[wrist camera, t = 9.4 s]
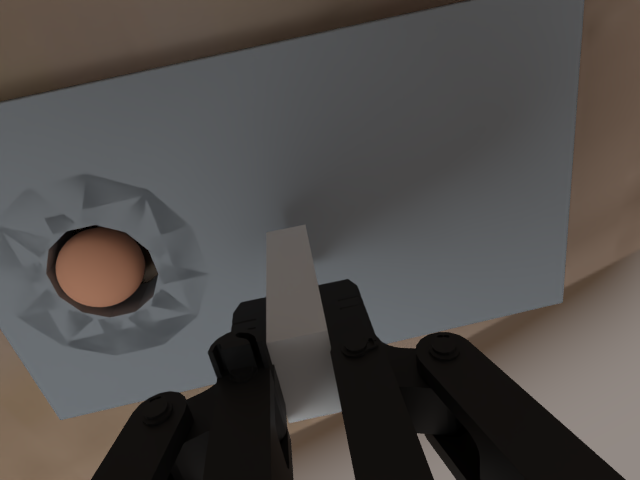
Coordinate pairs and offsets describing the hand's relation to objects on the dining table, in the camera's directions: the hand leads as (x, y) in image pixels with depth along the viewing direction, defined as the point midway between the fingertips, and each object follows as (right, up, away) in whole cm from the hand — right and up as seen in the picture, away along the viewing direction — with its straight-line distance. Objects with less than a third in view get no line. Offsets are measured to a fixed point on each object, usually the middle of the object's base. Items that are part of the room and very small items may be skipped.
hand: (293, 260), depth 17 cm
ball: (-8, 0, +2) cm, 8 cm away
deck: (-1, +2, +3) cm, 4 cm away
